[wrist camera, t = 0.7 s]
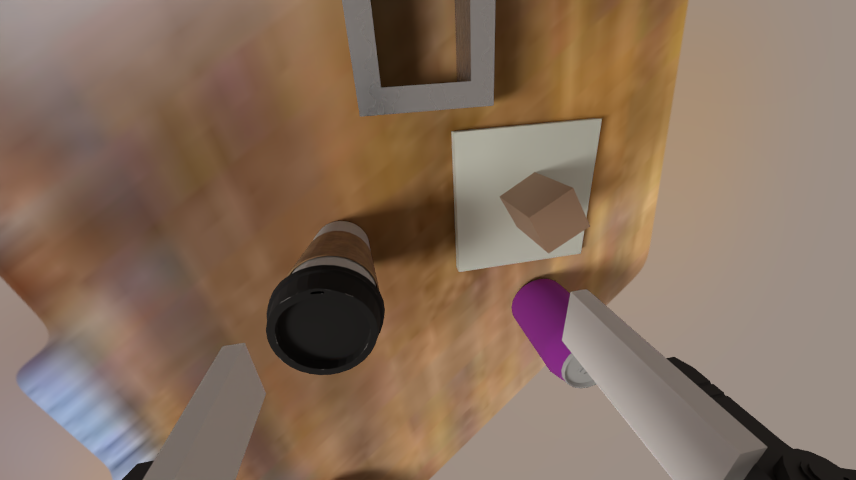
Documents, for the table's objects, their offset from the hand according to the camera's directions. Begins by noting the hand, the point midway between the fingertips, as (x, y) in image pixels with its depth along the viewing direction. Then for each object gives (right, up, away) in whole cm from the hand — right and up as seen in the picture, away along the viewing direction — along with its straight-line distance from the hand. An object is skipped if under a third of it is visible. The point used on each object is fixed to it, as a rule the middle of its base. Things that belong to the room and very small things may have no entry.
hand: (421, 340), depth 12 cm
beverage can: (+15, -4, +30) cm, 34 cm away
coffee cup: (-9, +4, +22) cm, 24 cm away
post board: (+11, +9, +23) cm, 27 cm away
